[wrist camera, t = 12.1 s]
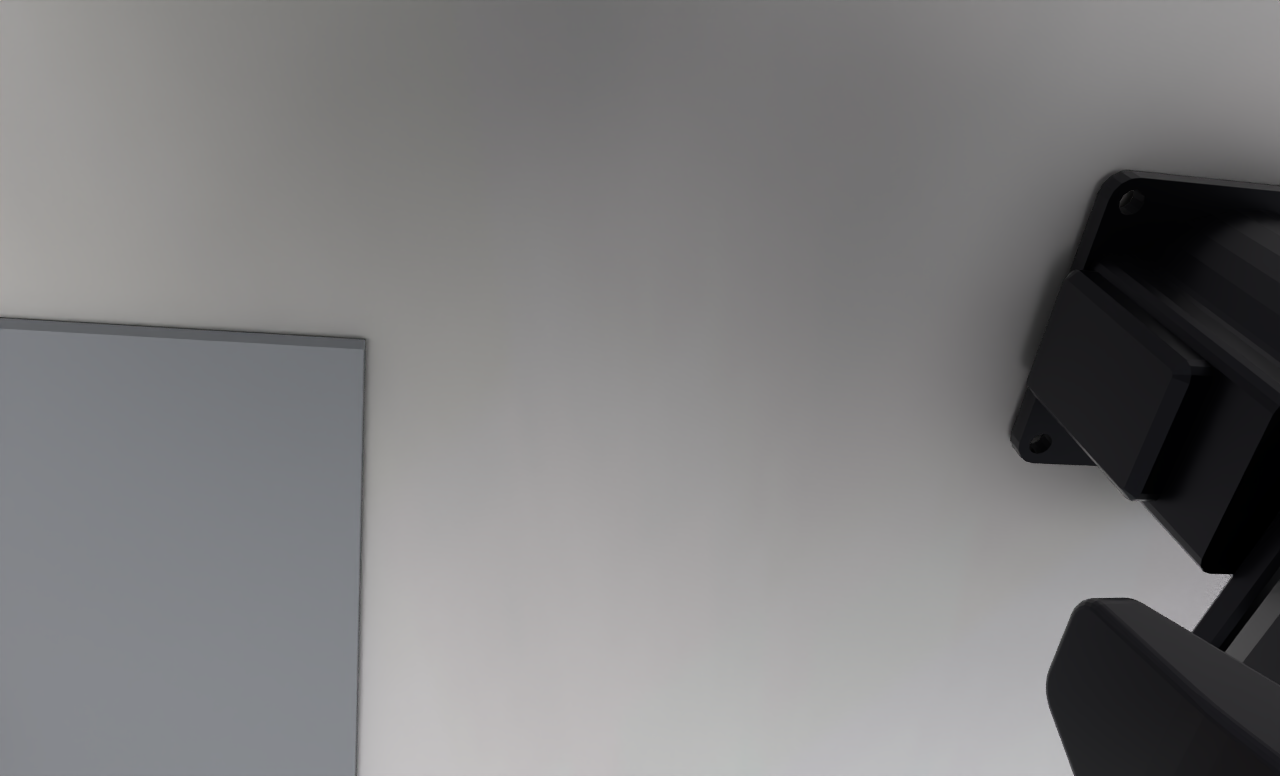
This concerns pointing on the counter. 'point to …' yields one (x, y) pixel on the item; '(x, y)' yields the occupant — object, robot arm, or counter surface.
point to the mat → (178, 551)
